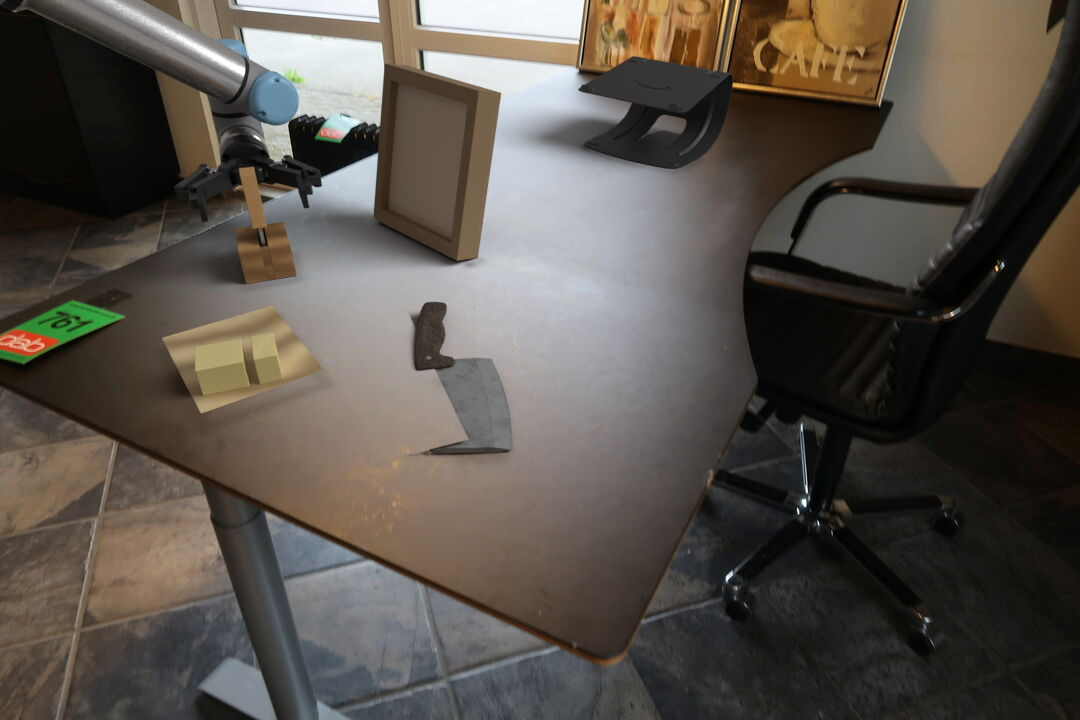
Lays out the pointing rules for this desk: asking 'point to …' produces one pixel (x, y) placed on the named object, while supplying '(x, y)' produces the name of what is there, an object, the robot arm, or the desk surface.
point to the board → (243, 327)
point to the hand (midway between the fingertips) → (255, 206)
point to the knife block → (265, 253)
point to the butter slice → (266, 358)
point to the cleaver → (464, 388)
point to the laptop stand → (662, 110)
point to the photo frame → (435, 158)
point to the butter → (221, 367)
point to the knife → (253, 200)
